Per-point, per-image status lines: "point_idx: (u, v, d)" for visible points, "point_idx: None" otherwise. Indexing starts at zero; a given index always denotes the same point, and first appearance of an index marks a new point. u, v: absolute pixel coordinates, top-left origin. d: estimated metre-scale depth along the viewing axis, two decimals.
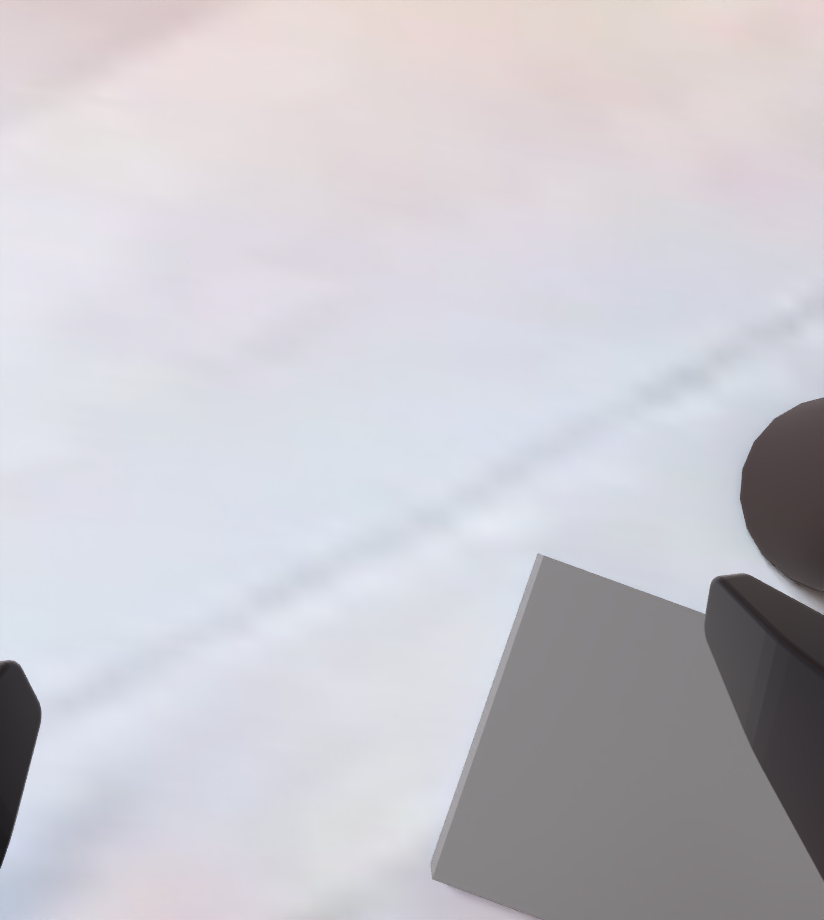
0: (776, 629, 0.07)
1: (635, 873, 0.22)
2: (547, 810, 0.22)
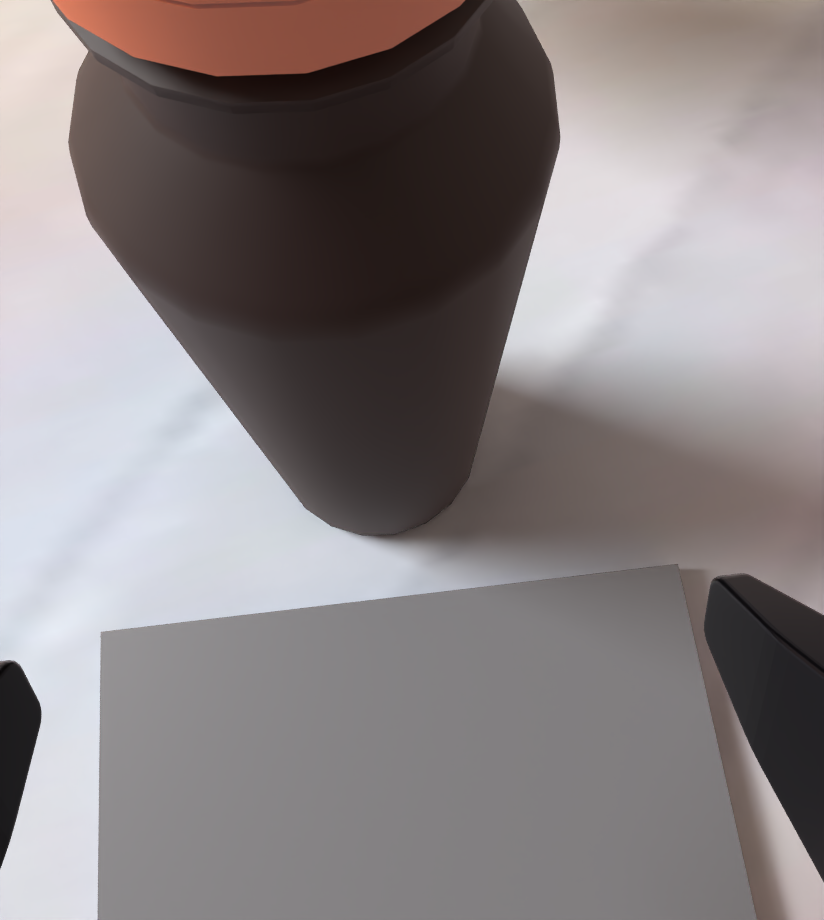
0: (776, 629, 0.07)
1: None
2: (199, 905, 0.19)
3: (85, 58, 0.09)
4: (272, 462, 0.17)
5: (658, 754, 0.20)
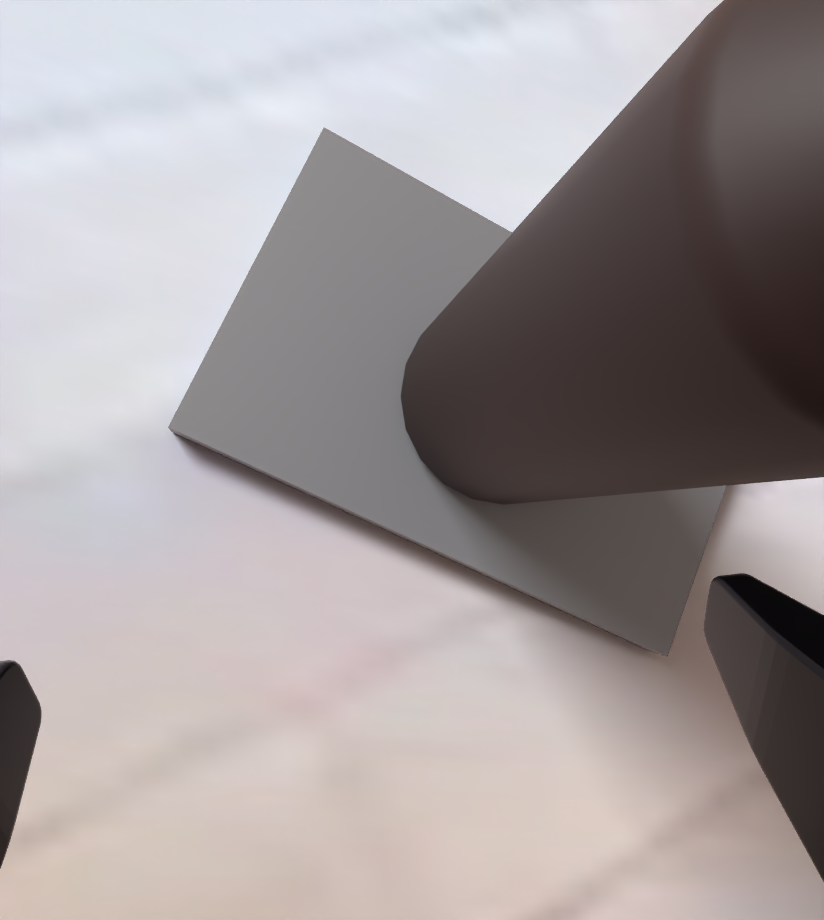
0: (776, 629, 0.07)
1: (385, 445, 0.22)
2: (301, 373, 0.21)
3: None
4: (462, 399, 0.16)
5: None
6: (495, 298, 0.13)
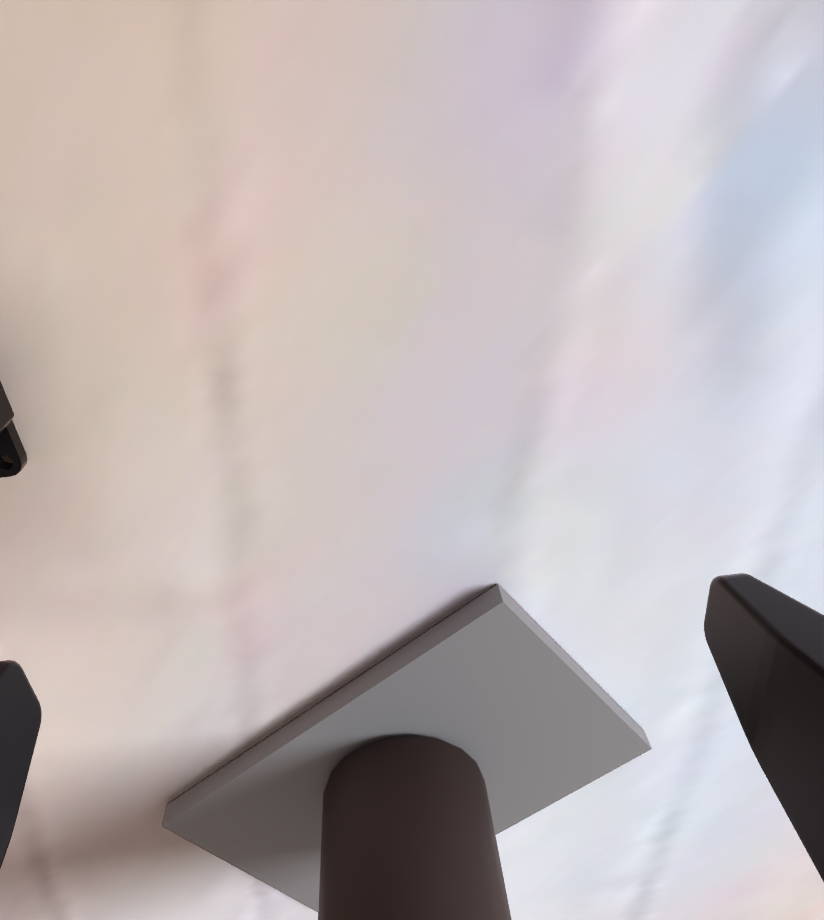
0: (776, 630, 0.07)
1: (412, 718, 0.27)
2: (493, 688, 0.27)
3: None
4: (428, 891, 0.22)
5: (285, 862, 0.31)
6: None
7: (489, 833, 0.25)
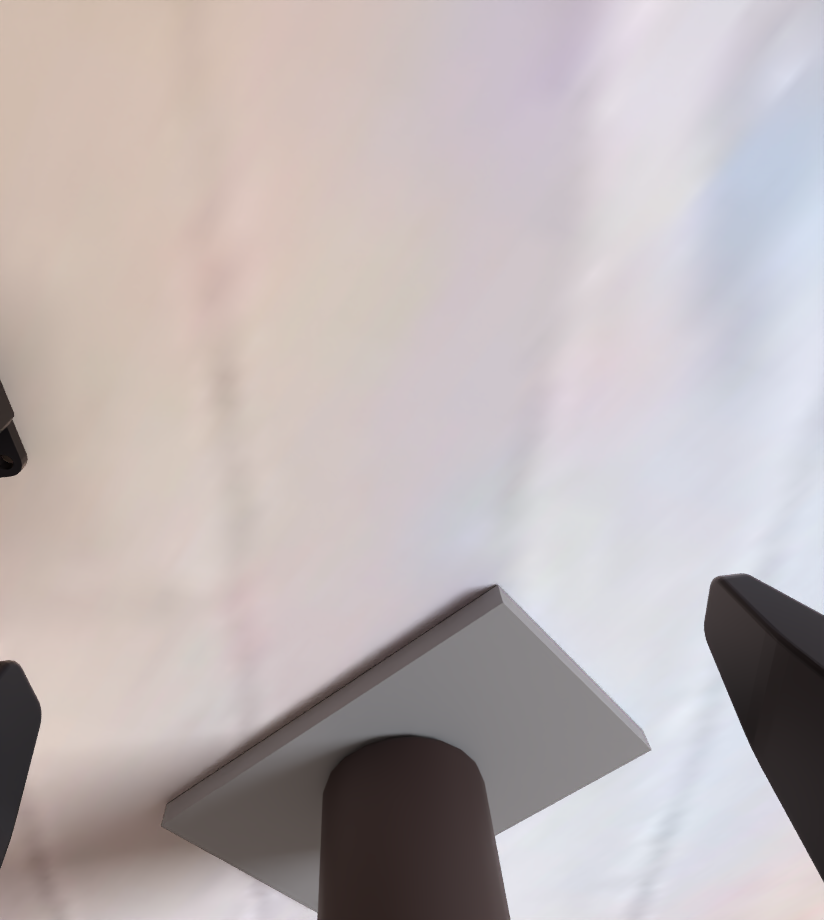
0: (776, 630, 0.07)
1: (411, 719, 0.27)
2: (493, 689, 0.27)
3: None
4: (427, 892, 0.22)
5: (285, 862, 0.31)
6: None
7: (488, 834, 0.25)
